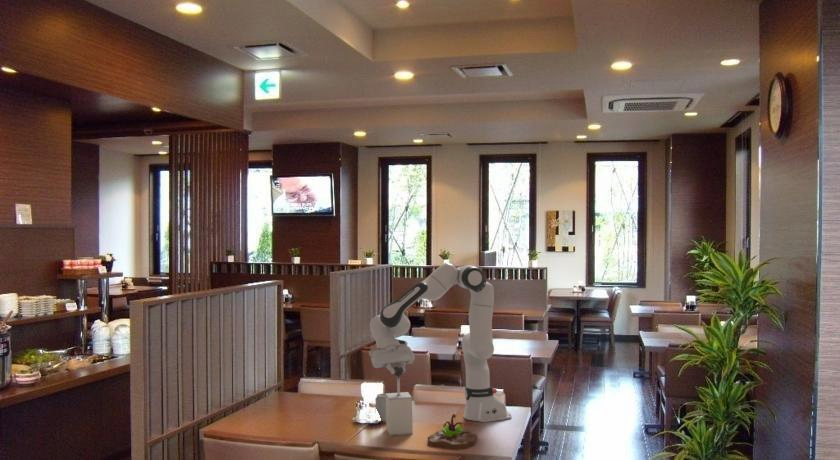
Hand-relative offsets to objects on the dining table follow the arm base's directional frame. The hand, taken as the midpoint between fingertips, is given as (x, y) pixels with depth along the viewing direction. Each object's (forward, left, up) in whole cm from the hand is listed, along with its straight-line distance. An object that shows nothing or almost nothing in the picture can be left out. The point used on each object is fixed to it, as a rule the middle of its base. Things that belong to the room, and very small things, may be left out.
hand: (399, 372), depth 300 cm
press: (0, -1, -26) cm, 26 cm away
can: (+4, -21, -26) cm, 34 cm away
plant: (-19, +18, -27) cm, 38 cm away
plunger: (0, -1, -20) cm, 20 cm away
